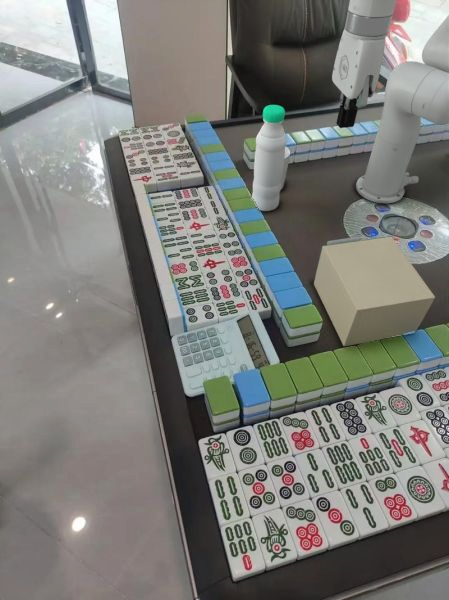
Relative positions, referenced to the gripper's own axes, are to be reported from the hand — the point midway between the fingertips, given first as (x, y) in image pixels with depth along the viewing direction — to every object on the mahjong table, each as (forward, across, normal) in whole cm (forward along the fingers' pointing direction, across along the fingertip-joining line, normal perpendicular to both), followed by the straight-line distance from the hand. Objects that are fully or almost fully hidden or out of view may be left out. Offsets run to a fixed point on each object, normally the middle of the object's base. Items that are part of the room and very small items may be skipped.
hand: (344, 125), depth 88 cm
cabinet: (+25, +28, -2) cm, 38 cm away
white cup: (+25, -18, -8) cm, 32 cm away
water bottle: (+25, -10, -12) cm, 30 cm away
